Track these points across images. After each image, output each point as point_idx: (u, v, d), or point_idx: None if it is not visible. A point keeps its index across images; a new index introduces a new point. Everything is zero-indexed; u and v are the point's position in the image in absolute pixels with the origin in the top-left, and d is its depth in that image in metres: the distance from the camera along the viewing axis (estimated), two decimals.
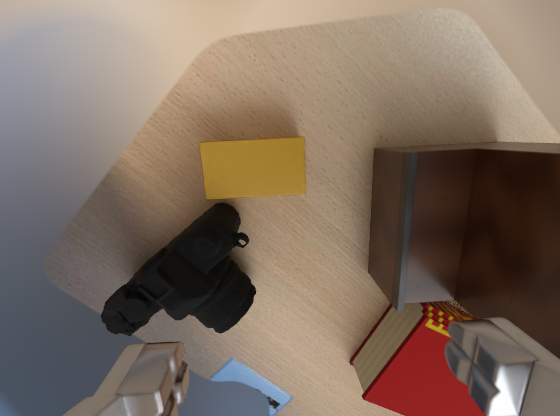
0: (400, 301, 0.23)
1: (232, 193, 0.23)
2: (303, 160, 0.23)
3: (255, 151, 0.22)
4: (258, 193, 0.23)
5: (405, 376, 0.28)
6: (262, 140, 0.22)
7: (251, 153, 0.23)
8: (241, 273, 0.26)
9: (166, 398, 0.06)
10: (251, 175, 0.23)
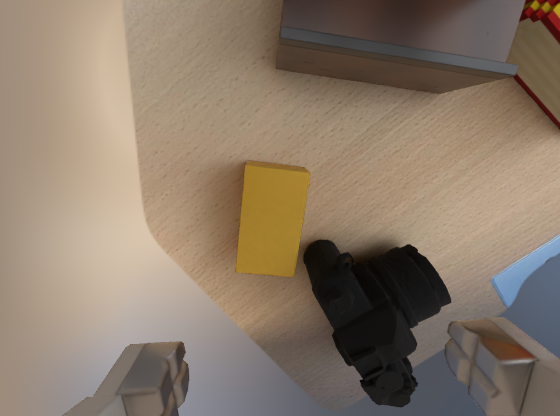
0: (500, 69, 0.15)
1: (293, 251, 0.22)
2: (271, 169, 0.20)
3: (252, 220, 0.21)
4: (298, 224, 0.21)
5: None
6: (242, 211, 0.20)
7: (253, 224, 0.21)
8: (387, 258, 0.23)
9: (166, 398, 0.06)
10: (277, 228, 0.21)
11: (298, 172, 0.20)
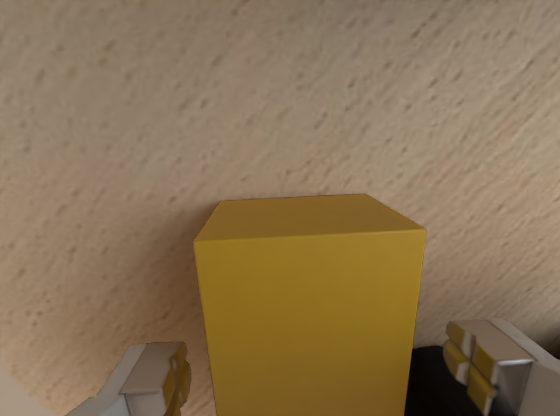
0: None
1: None
2: (287, 242, 0.06)
3: (252, 397, 0.07)
4: (396, 384, 0.07)
5: None
6: (215, 377, 0.06)
7: (259, 406, 0.07)
8: None
9: (169, 398, 0.06)
10: (333, 405, 0.07)
11: (384, 234, 0.06)
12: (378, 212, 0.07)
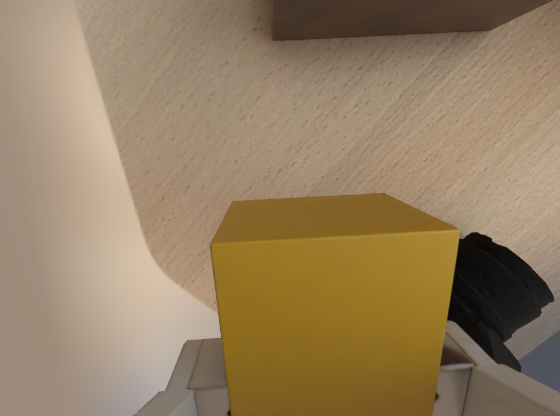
0: None
1: None
2: (311, 244, 0.05)
3: (271, 409, 0.06)
4: (424, 396, 0.06)
5: None
6: (231, 388, 0.06)
7: None
8: None
9: None
10: None
11: (415, 235, 0.05)
12: (403, 212, 0.06)
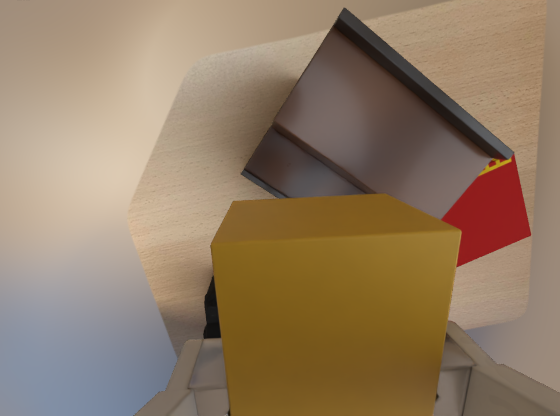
0: None
1: None
2: (312, 244, 0.05)
3: (271, 410, 0.06)
4: (424, 396, 0.06)
5: None
6: (231, 389, 0.06)
7: None
8: None
9: None
10: None
11: (416, 236, 0.05)
12: (404, 212, 0.06)
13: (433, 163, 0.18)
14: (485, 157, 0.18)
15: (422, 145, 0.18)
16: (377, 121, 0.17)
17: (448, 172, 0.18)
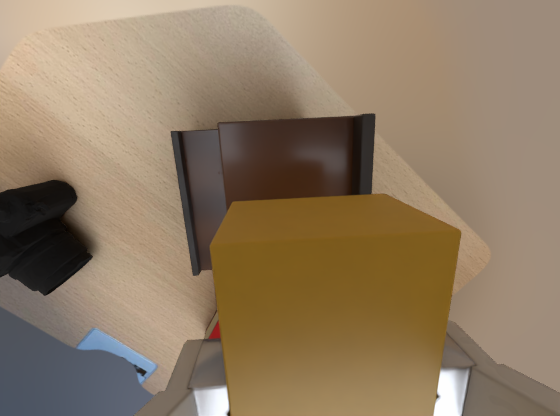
0: (193, 266, 0.26)
1: None
2: (311, 245, 0.05)
3: (271, 410, 0.06)
4: (425, 397, 0.06)
5: None
6: (231, 390, 0.06)
7: None
8: (70, 242, 0.29)
9: None
10: None
11: (416, 236, 0.05)
12: (403, 213, 0.06)
13: None
14: None
15: None
16: None
17: None
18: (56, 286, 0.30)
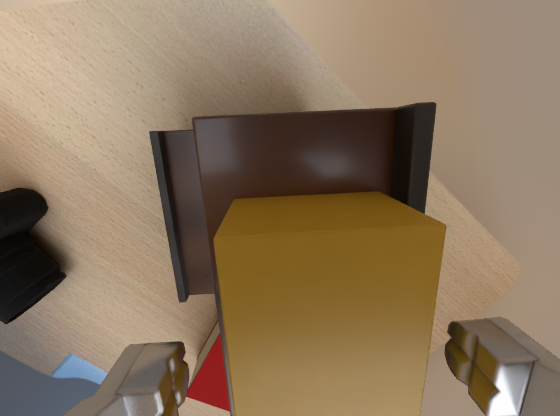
0: (179, 291, 0.22)
1: None
2: (307, 238, 0.06)
3: (270, 393, 0.07)
4: (414, 381, 0.07)
5: None
6: (233, 373, 0.06)
7: (276, 403, 0.07)
8: (37, 261, 0.25)
9: (166, 398, 0.06)
10: (350, 401, 0.07)
11: (404, 230, 0.06)
12: (395, 209, 0.07)
13: None
14: None
15: None
16: None
17: None
18: (23, 310, 0.26)
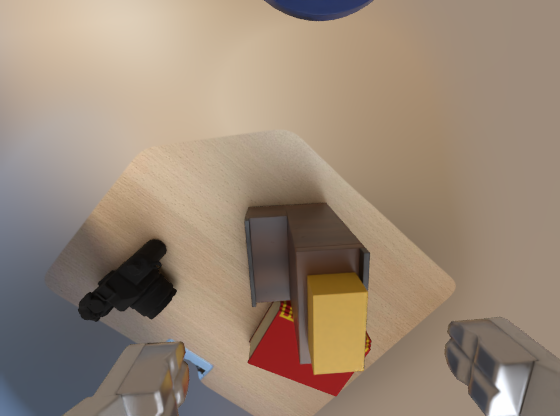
0: (253, 301, 0.40)
1: (360, 351, 0.25)
2: (334, 295, 0.23)
3: (323, 334, 0.24)
4: (362, 331, 0.25)
5: (272, 348, 0.45)
6: (314, 329, 0.24)
7: (325, 337, 0.25)
8: (165, 283, 0.43)
9: (166, 398, 0.06)
10: (345, 337, 0.25)
11: (357, 293, 0.23)
12: (357, 284, 0.25)
13: None
14: None
15: None
16: None
17: None
18: None
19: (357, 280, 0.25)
